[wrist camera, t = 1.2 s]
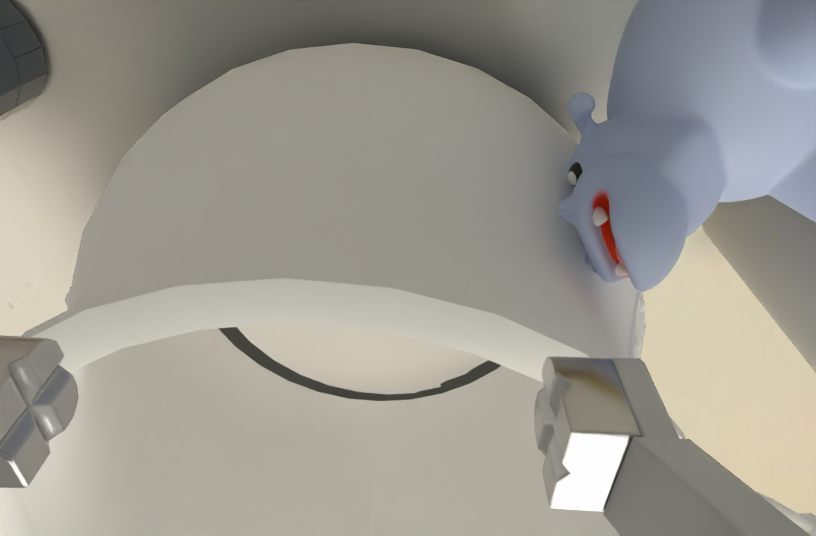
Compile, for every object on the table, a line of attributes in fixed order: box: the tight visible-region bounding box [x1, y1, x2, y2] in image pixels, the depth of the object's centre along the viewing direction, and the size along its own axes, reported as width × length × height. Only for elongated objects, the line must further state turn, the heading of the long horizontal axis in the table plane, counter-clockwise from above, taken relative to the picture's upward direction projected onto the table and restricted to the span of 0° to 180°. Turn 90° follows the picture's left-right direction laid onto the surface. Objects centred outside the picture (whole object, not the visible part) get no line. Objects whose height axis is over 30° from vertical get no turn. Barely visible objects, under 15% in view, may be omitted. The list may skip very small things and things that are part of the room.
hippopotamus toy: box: [557, 0, 816, 291], centre depth 17 cm, size 11×15×10 cm
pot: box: [0, 43, 816, 536], centre depth 24 cm, size 28×24×17 cm
